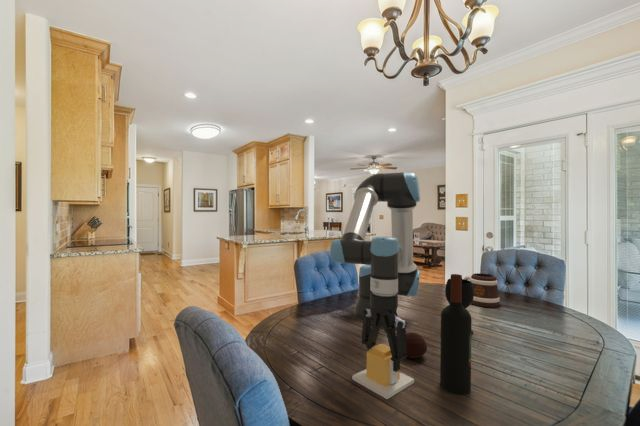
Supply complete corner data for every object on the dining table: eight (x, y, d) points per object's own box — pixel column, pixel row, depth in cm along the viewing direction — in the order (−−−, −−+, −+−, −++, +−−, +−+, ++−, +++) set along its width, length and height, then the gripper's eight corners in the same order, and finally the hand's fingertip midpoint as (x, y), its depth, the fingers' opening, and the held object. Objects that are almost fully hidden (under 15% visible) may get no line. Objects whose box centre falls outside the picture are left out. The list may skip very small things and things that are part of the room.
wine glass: (476, 337, 116) (477, 284, 116) (447, 334, 118) (448, 282, 118) (469, 327, 126) (469, 278, 126) (442, 325, 128) (442, 277, 128)
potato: (395, 351, 103) (395, 328, 103) (423, 351, 103) (423, 328, 103) (401, 362, 95) (401, 337, 95) (431, 363, 95) (431, 338, 95)
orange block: (366, 376, 85) (366, 347, 85) (381, 369, 89) (381, 341, 89) (385, 386, 80) (385, 355, 80) (399, 378, 84) (399, 348, 84)
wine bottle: (435, 379, 86) (436, 272, 86) (460, 378, 86) (462, 272, 86) (448, 395, 78) (449, 278, 78) (476, 394, 79) (478, 277, 79)
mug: (506, 305, 157) (506, 276, 157) (487, 309, 150) (488, 279, 150) (471, 296, 174) (471, 270, 174) (453, 299, 167) (453, 272, 167)
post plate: (352, 379, 85) (352, 357, 85) (379, 365, 93) (379, 346, 93) (387, 399, 76) (387, 375, 76) (414, 382, 84) (414, 360, 84)
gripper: (349, 288, 90) (348, 367, 89) (406, 303, 75) (404, 397, 75) (366, 284, 94) (365, 359, 94) (422, 298, 80) (421, 387, 79)
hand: (382, 376), depth 84 cm, fingers closed on orange block, 6 cm apart
